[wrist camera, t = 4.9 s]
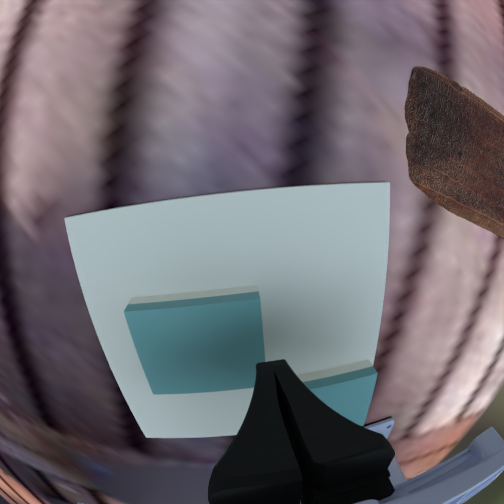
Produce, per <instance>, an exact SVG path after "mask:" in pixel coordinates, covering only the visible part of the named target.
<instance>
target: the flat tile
mask: <svg viewBox="0 0 504 504" xmlns="http://www.w3.org/2000/svg"><path fill="white" fill-rule="evenodd" d="M377 374H378V373H377V371H376V370H375V368H374V367H373V365H372V364H371V362H370V361H369V359H368V360H364V361H360V362H356V363H352V364H347V365H343V366H339V367H334V368H329V369H325V370H320V371H315V372H310V373H304V374H299V375H297V376H298V377H299V379H300V380H301V381H302V382H303V383H304V384H305V385H306V386H307V387H308V388H309V389H310V390H311V391H312V392H313V393H314V394H315V395H316V396H317V397H318V398H319V399H320V400H321V401H323V402H324V403H325V404H326V405H328V406H329V407H330V408H332V409H333V410H334V411H336V412H337V413H339V414H340V415H342V416H344V417H345V418H347V419H349V420H351V421H352V422H354V423H356V424H358V425H360V426H363V425H364V423H365V420H366V417H367V413H368V410H369V406H370V402H371V398H372V395H373V391H374V387H375V382H376V378H377Z"/></svg>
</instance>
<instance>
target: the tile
mask: <svg viewBox="0 0 504 504" xmlns="http://www.w3.org/2000/svg"><path fill="white" fill-rule="evenodd" d="M124 315H125V318H126V321H127V324H128V328H129V331H130V334H131V337H132V340H133V343H134V346H135V348H136V351H137V354H138V357H139V360H140V362H141V365H142V368H143V370H144V373H145V375H146V378H147V380H148V383H149V385H150V388H151V390H152V393H153V395H159V394H188V393H204V392H217V391H228V390H237V389H246V388H254V386H255V379H256V364H257V363H260V362H265V350H264V337H263V325H262V313H261V301H260V296H259V292H258V288H257V285H251V286H243V287H234V288H225V289H216V290H207V291H198V292H188V293H178V294H168V295H157V296H146V297H134V298H131V299H130V301H129V303H128V305H127V306H126V308H125V310H124Z"/></svg>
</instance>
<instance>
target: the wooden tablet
mask: <svg viewBox="0 0 504 504" xmlns="http://www.w3.org/2000/svg"><path fill="white" fill-rule="evenodd" d="M405 119H406V123H407V126H408V130H409V133H408V135H407V137H406V155H407V160H408V167H409V177H410V179H411V181H412V182H413V184H414V185H415V186H416V187H418V188H419V189H420V190H421V191H422V192H424V193H425V194H426V195H427V196H428V197H429V198H431V199H432V200H434V201H435V202H436V203H437V204H439V205H440V206H442V207H444V208H445V209H446V210H448V211H450V212H451V213H453V214H455V215H457V216H459V217H462V218H464V219H466V220H468V221H470V222H472V223H474V224H476V225H478V226H481V227H483V228H485V229H487V230H489V231H491V232H493V233H495V234H497V235H499V236H500V237H502V238H504V116H503V115H502V114H501V113H499V112H498V111H497V110H495V109H494V108H493V107H491V106H490V105H489V104H487V103H486V102H485V101H483V100H482V99H481V98H479V97H478V96H476V95H475V94H474V93H472V92H471V91H469V90H468V89H466V88H465V87H461V86H460V85H459V84H458V83H457V82H455V81H453V80H451V79H449V78H448V77H446V76H444V75H442V74H440V73H438V72H436V71H433V70H431V69H428V68H425V67H415V68H414V70H413V74H412V78H411V80H410V85H409V94H408V96H407V99H406V102H405Z"/></svg>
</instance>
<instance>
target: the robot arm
mask: <svg viewBox="0 0 504 504" xmlns="http://www.w3.org/2000/svg"><path fill="white" fill-rule="evenodd" d="M393 424H394V419H393V418H389V419H386V420H383V421H380V422H377V423H374V424H371V425H368V426H365V427H362V426H360V425H358V424H356V423H354V422H352V421H351V420H349V419H347V418H345V417H344V416H342V415H340V414H339V413H337V412H336V411H334V410H333V409H332V408H330V407H329V406H328V405H326V404H325V403H324V402H323V401H321V400H320V399H319V398H318V397H317V396H316V395H315V394H314V393H313V392H312V391H311V390H310V389H309V388H308V387H307V386H306V385H305V384H304V383H303V382H302V381H301V380H300V379H299V377H298V376H297V375H296V374H295V373H294V371H293V370H292V369H291V367H290V366H289V364H288V363H287V361H286V360H285V359H281V360H274V361H267V362H260V363H257V364H256V379H255V386H254V390H253V395H252V398H251V402H250V405H249V408H248V411H247V414H246V416H245V418H244V421H243V423H242V425H241V427H240V429H239V431H238V433H237V435H236V437H235V439H234V440H233V442H232V443H231V445H230V446H229V448H228V450H227V451H226V453H225V454H224V455H223V457H222V458H221V459H220V460H219V462H218V463H217V464H216V465H215V467H214V469H213V472H212V474H211V478H210V481H209V486H208V501H209V503H210V504H300V500H301V504H462V503H464V502H465V501H467V500H468V499H469V498H471V497H472V496H473V495H475V494H476V493H478V492H479V491H480V490H482V489H483V488H485V487H486V486H487V485H489V484H490V483H491V482H492V481H493V480H494V479H495V478H496V477H497V476H498V475H499V474H500V473H501V472H502V471H503V470H504V441H503V439H502V438H501V437H500V436H499V434H498V433H497V432H496V431H495V429H494V428H493V427H490V428H489V429H488V430H486V431H485V432H483V433H482V434H480V435H479V436H477V437H476V438H475V439H474V440H473V441H472V442H471V444H470V445H469V448H467V449H465V450H464V451H462V452H461V453H459V454H457V455H455V456H454V457H452V458H450V459H449V460H447V461H445V462H443V463H441V464H439V465H438V466H436V467H434V468H432V469H430V470H428V471H426V472H424V473H422V474H420V475H418V476H416V477H413V478H411V479H409V480H407V479H406V477H405V475H404V473H403V472H402V470H401V468H400V466H399V464H398V462H397V460H396V458H395V456H394V455H395V452H394V450H393V448H392V446H391V444H390V443H389V442H388V440H387V438H388V436H389V434H390V431H391V429H392V427H393ZM77 504H85V503H81V502H78V503H77Z"/></svg>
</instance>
